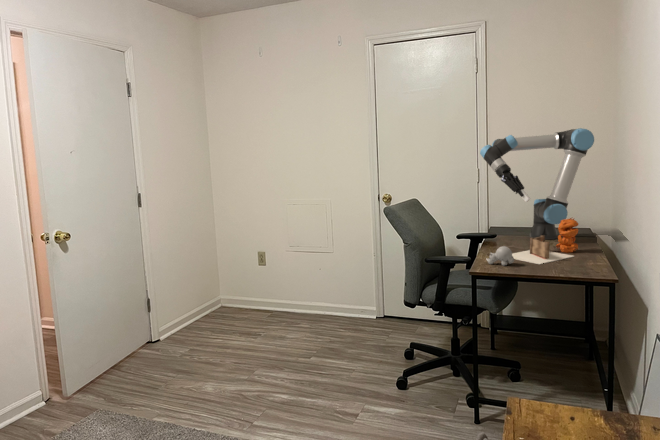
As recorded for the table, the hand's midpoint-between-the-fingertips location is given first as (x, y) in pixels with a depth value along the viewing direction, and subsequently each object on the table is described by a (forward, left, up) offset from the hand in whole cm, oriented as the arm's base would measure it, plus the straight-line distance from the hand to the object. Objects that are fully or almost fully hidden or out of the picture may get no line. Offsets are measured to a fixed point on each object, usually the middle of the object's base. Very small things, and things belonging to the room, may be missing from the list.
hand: (528, 200), depth 266 cm
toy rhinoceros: (+16, -40, -26) cm, 50 cm away
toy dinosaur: (+18, +9, -26) cm, 33 cm away
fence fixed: (+11, -6, -25) cm, 28 cm away
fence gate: (+18, -13, -25) cm, 34 cm away
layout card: (+16, -13, -26) cm, 33 cm away
